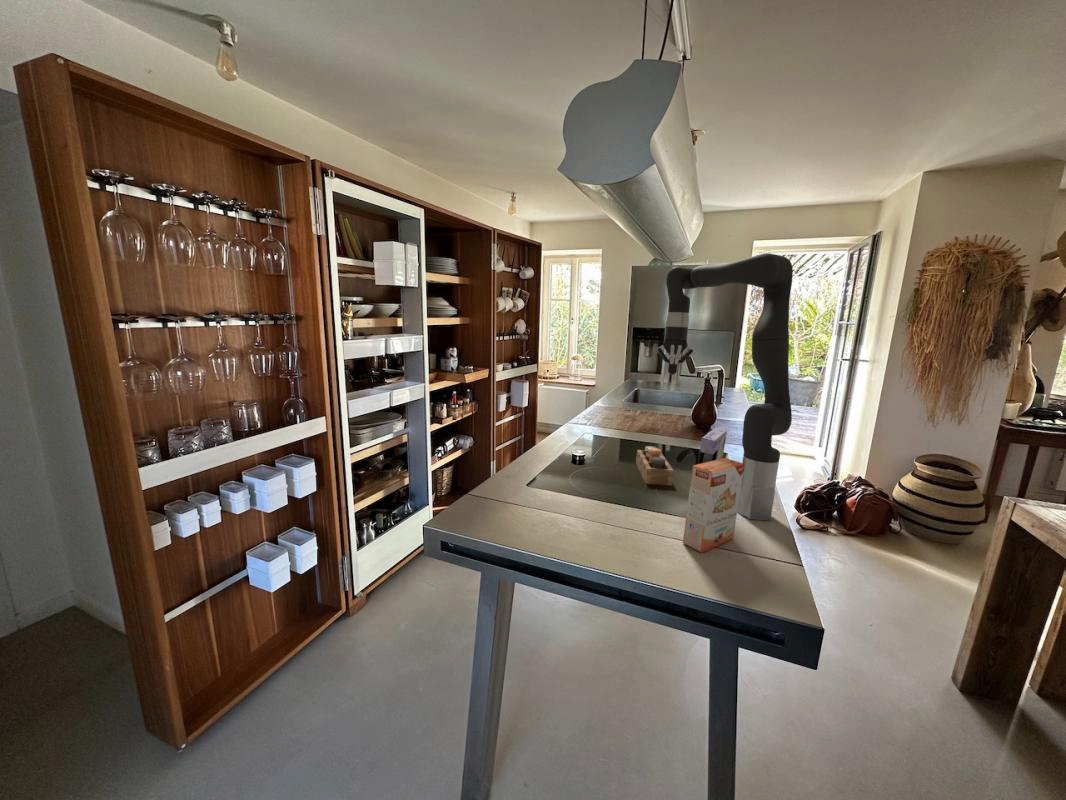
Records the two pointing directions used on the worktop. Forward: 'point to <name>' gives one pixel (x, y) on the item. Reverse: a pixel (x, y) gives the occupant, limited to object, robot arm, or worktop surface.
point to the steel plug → (648, 450)
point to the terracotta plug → (654, 453)
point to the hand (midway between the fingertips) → (672, 374)
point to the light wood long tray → (654, 470)
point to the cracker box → (713, 503)
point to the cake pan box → (712, 446)
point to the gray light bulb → (658, 462)
